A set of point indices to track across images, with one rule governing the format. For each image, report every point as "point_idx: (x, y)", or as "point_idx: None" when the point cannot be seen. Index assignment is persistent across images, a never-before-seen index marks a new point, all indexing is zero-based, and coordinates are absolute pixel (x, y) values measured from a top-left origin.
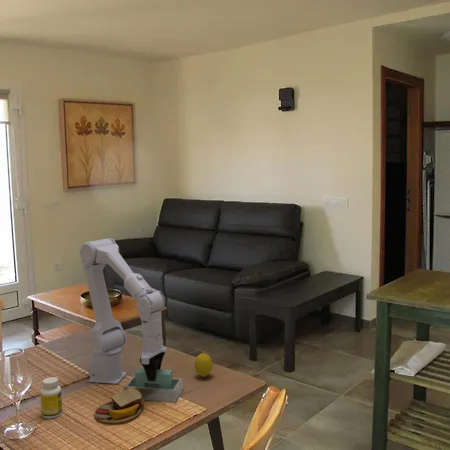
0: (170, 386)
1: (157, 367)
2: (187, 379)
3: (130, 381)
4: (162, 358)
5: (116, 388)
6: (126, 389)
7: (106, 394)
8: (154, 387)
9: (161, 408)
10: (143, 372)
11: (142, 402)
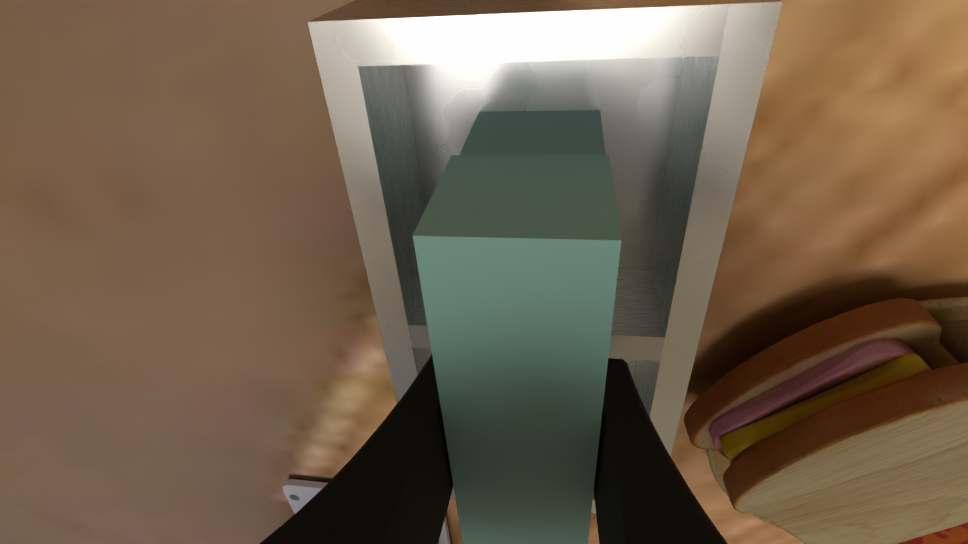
0: (528, 143)
1: (430, 454)
2: (114, 24)
3: None
4: (312, 541)
5: None
6: None
7: None
8: None
9: (878, 113)
10: (573, 534)
11: (910, 331)
